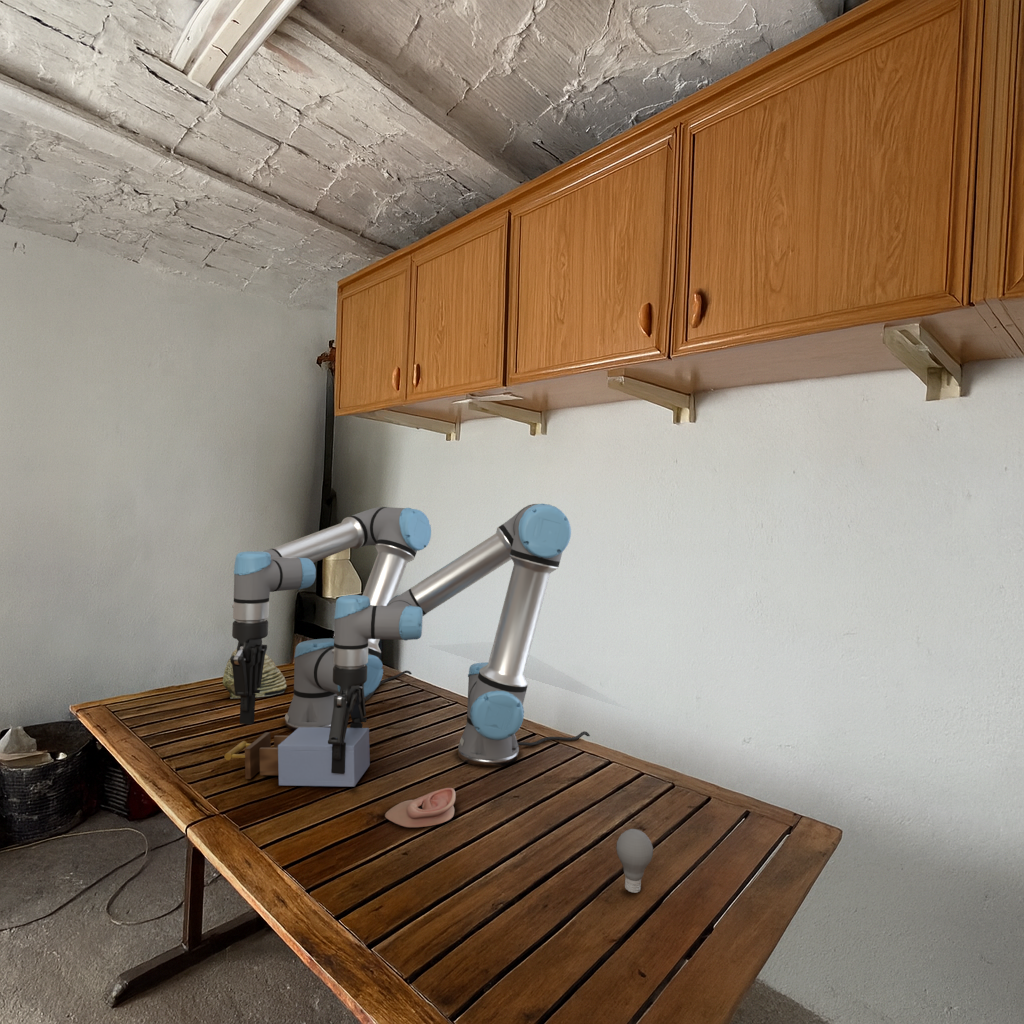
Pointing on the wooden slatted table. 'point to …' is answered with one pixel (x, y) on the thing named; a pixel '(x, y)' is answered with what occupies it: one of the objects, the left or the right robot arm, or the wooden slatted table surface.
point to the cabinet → (321, 758)
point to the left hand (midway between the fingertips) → (246, 722)
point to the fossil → (270, 680)
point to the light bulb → (634, 857)
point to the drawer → (258, 755)
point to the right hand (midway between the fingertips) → (347, 761)
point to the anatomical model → (424, 809)
